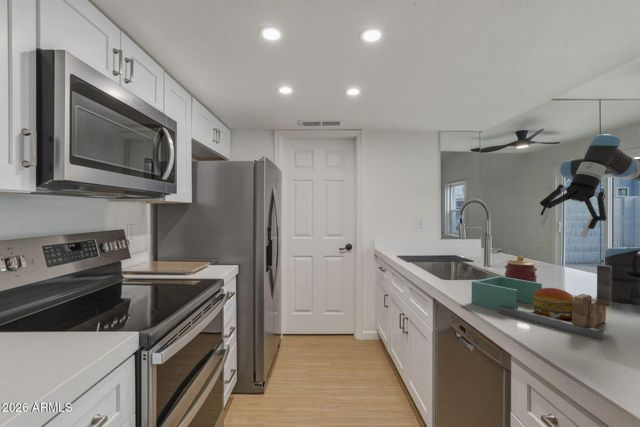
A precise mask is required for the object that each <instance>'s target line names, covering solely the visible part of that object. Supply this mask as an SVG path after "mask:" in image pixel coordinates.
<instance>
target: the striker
mask: <svg viewBox="0 0 640 427" xmlns="http://www.w3.org/2000/svg"><path fill="white" fill-rule="evenodd" d="M573 297H574V301H572V318H571V323H572V324H575V325H579V326H583V327H584V326H587V327H591V328H595V327H597V326H599V325H600V324H602V323H604V322H606V320H607V308H610V307H612V306H613V302H612V266H607V265H605V264H597V266H596V297H593V298H592V295H590V294H587V293H586V294H585V293H580V294H578V295H575V296H573Z"/></svg>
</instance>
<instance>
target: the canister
mask: <svg viewBox="0 0 640 427" xmlns="http://www.w3.org/2000/svg"><path fill="white" fill-rule="evenodd" d="M535 264H536V263H534V262H532V261H531V260H528V259H525V258H524V256H523V255H518V256H517V258H511V259H509V260H507V261H506V265H504V268H505V272H504V277H507V278H513V279H519V280H525V281H531V282H537V277H538V275H537V273H536V272H537V271H538V269H537V268H536V267H535Z"/></svg>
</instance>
